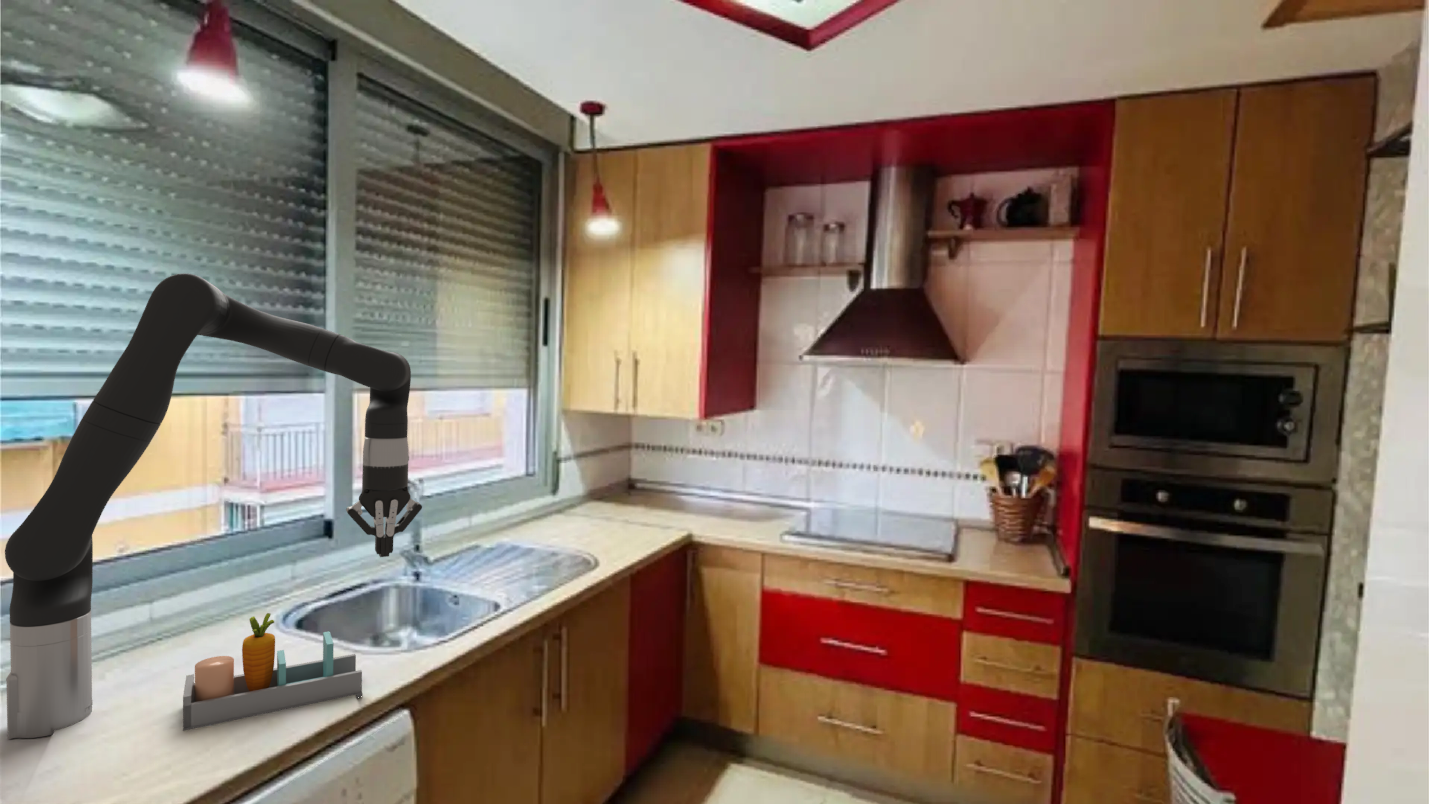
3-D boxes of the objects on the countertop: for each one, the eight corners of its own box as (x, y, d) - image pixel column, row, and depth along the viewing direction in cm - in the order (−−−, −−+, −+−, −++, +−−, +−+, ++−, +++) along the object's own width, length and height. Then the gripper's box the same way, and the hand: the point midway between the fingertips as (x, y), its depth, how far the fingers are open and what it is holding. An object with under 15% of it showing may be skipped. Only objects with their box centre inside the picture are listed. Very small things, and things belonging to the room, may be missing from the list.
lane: (182, 735, 108) (182, 699, 108) (186, 707, 116) (186, 673, 116) (362, 697, 122) (362, 664, 122) (354, 675, 130) (354, 644, 130)
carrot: (269, 691, 121) (268, 606, 120) (281, 700, 118) (281, 613, 118) (236, 702, 117) (235, 614, 116) (248, 711, 114) (248, 621, 114)
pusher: (278, 704, 117) (278, 652, 116) (277, 689, 122) (277, 639, 121) (333, 693, 121) (333, 643, 121) (329, 679, 126) (329, 631, 126)
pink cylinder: (194, 721, 111) (193, 672, 110) (195, 707, 115) (195, 660, 115) (233, 713, 114) (233, 665, 113) (234, 699, 118) (234, 653, 118)
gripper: (420, 457, 134) (418, 547, 135) (342, 460, 127) (340, 554, 127) (428, 463, 128) (426, 557, 129) (347, 466, 120) (345, 565, 121)
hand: (383, 555), depth 128 cm, fingers closed
